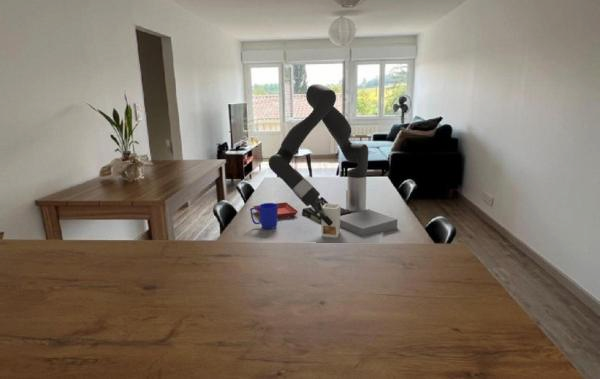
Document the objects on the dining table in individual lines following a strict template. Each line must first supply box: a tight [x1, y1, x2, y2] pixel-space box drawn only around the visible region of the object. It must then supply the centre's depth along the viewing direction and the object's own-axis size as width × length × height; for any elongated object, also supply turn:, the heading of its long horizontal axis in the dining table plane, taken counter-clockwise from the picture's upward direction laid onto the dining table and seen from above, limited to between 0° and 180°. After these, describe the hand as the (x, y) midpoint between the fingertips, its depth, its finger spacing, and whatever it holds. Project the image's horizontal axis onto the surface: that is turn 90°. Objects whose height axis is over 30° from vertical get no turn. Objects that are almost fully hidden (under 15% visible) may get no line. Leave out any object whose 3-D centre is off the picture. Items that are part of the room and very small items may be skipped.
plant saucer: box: [252, 202, 299, 220], centre depth 184 cm, size 18×18×3 cm
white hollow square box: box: [321, 203, 341, 239], centre depth 152 cm, size 6×6×13 cm
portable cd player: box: [301, 206, 352, 224], centre depth 177 cm, size 16×17×4 cm
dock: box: [340, 209, 398, 237], centre depth 163 cm, size 18×20×4 cm
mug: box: [249, 202, 278, 230], centre depth 165 cm, size 8×12×10 cm
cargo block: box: [325, 226, 336, 235], centre depth 153 cm, size 4×4×4 cm
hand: (333, 221), depth 152 cm, fingers open, 8 cm apart
